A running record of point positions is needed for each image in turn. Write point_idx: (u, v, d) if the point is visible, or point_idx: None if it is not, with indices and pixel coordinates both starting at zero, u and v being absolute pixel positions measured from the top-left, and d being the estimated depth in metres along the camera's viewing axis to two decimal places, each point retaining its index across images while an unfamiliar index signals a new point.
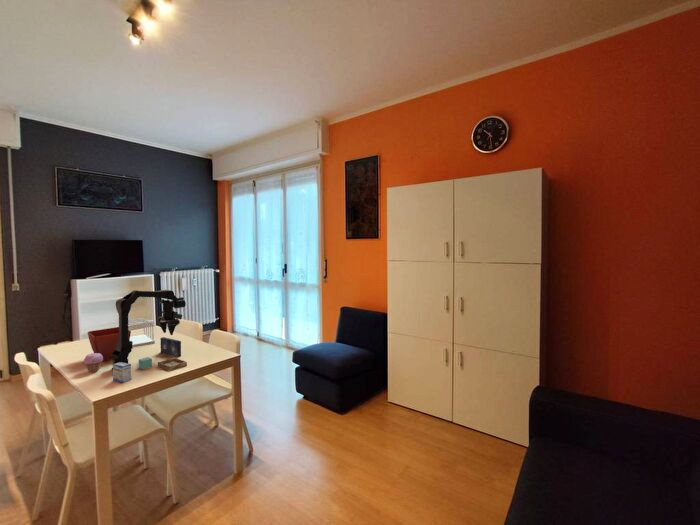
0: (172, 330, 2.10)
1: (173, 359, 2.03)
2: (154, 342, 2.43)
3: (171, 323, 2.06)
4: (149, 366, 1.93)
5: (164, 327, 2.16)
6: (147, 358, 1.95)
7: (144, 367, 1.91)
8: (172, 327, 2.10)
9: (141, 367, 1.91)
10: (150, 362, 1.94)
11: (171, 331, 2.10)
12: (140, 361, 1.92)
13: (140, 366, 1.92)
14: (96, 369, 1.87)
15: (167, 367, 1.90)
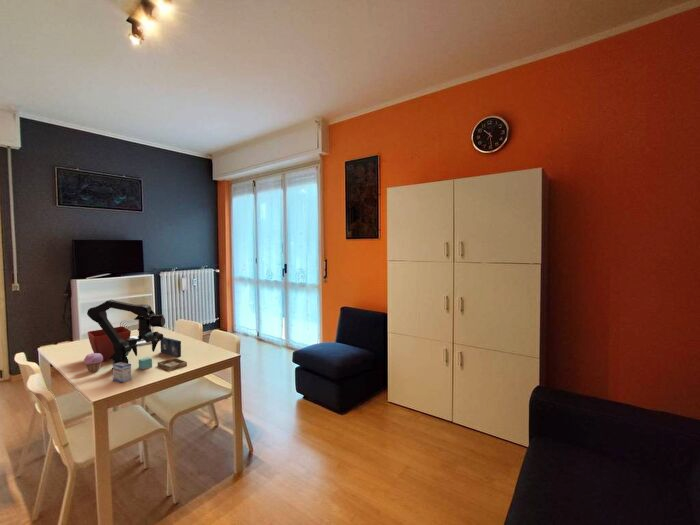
0: (134, 350, 1.89)
1: (173, 359, 2.03)
2: None
3: (125, 342, 1.87)
4: (149, 366, 1.93)
5: (152, 346, 1.97)
6: (147, 358, 1.95)
7: (144, 367, 1.91)
8: None
9: (141, 367, 1.91)
10: (150, 362, 1.94)
11: (134, 351, 1.89)
12: (140, 361, 1.92)
13: (140, 366, 1.92)
14: (96, 369, 1.87)
15: (167, 367, 1.90)
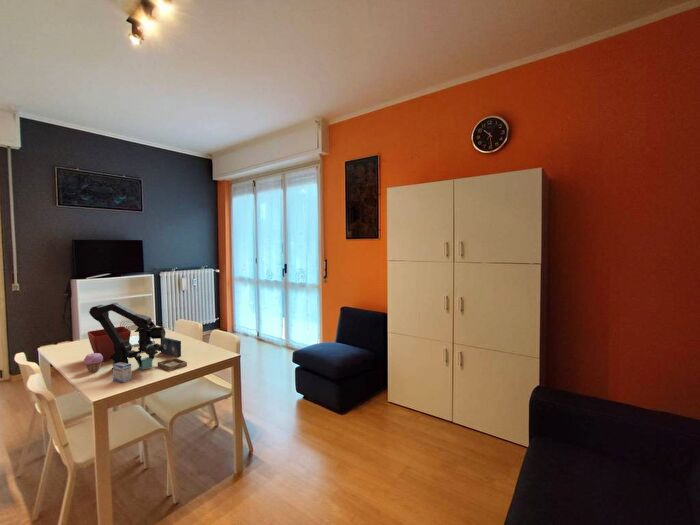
0: (138, 362, 1.91)
1: (173, 359, 2.03)
2: (154, 342, 2.43)
3: (125, 354, 1.87)
4: (149, 366, 1.93)
5: None
6: (147, 358, 1.95)
7: (144, 367, 1.91)
8: (138, 359, 1.90)
9: (141, 367, 1.91)
10: (150, 362, 1.94)
11: (138, 363, 1.91)
12: None
13: None
14: (96, 369, 1.87)
15: (167, 367, 1.90)
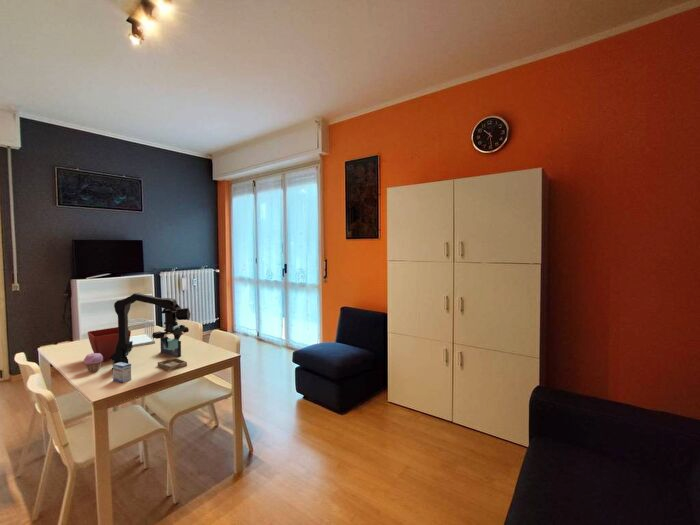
0: (164, 343, 1.93)
1: (173, 359, 2.03)
2: (154, 342, 2.43)
3: (152, 335, 1.89)
4: (175, 347, 1.95)
5: None
6: (173, 339, 1.97)
7: (170, 348, 1.93)
8: None
9: (167, 348, 1.93)
10: (176, 343, 1.96)
11: (164, 344, 1.93)
12: None
13: None
14: (96, 369, 1.87)
15: (167, 367, 1.90)
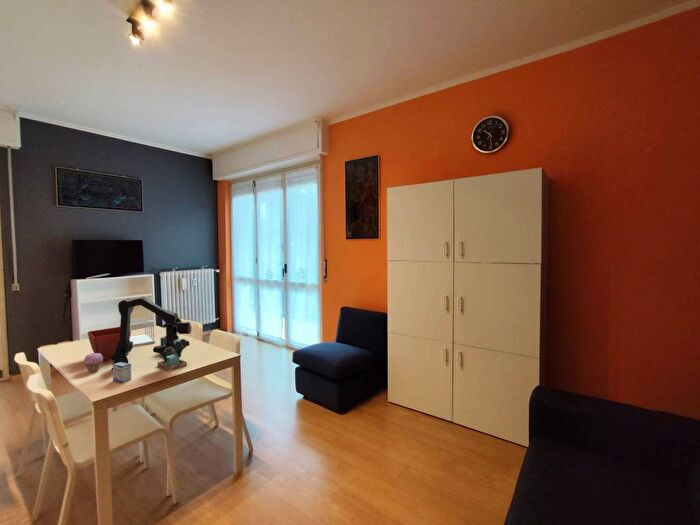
0: (163, 357, 1.92)
1: None
2: (154, 342, 2.43)
3: (153, 349, 1.89)
4: (176, 363, 1.96)
5: (178, 353, 1.99)
6: (174, 355, 1.97)
7: (171, 364, 1.94)
8: None
9: (168, 364, 1.94)
10: (177, 360, 1.96)
11: (163, 358, 1.93)
12: (167, 358, 1.94)
13: (167, 363, 1.94)
14: (96, 369, 1.87)
15: (167, 367, 1.90)
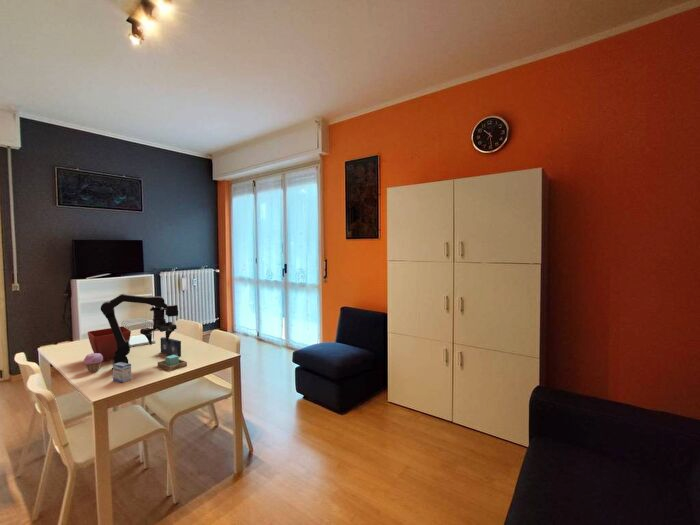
0: (148, 340, 1.98)
1: None
2: (154, 342, 2.43)
3: (140, 331, 1.96)
4: (176, 363, 1.96)
5: (166, 336, 2.06)
6: (174, 355, 1.97)
7: (171, 364, 1.94)
8: None
9: (168, 364, 1.94)
10: (177, 360, 1.96)
11: (148, 340, 1.98)
12: (167, 358, 1.94)
13: (167, 363, 1.94)
14: (96, 369, 1.87)
15: (167, 367, 1.90)
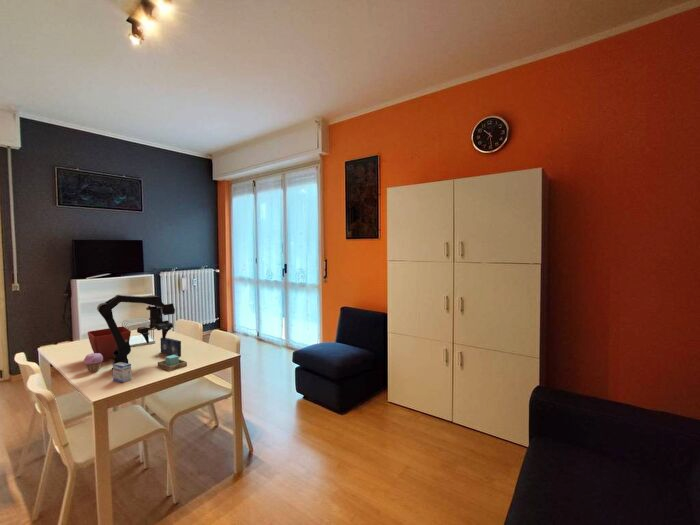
0: (146, 338, 1.99)
1: None
2: (154, 342, 2.43)
3: (137, 330, 1.97)
4: (176, 363, 1.96)
5: (163, 334, 2.08)
6: (174, 355, 1.97)
7: (171, 364, 1.94)
8: None
9: (168, 364, 1.94)
10: (177, 360, 1.96)
11: (145, 339, 2.00)
12: (167, 358, 1.94)
13: (167, 363, 1.94)
14: (96, 369, 1.87)
15: (167, 367, 1.90)
